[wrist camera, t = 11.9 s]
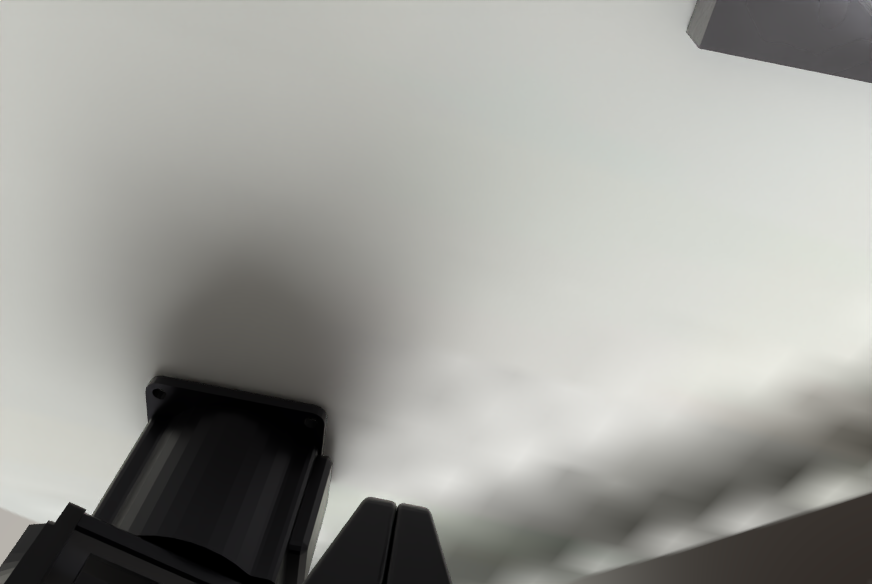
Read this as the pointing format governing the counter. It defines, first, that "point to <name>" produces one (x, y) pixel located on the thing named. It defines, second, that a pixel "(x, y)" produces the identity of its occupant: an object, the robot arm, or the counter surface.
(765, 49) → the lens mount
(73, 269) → the counter surface
